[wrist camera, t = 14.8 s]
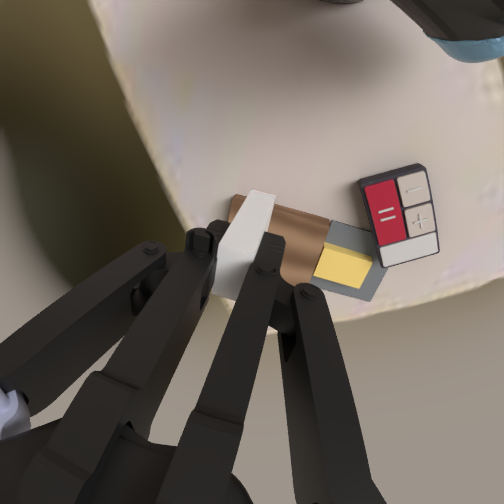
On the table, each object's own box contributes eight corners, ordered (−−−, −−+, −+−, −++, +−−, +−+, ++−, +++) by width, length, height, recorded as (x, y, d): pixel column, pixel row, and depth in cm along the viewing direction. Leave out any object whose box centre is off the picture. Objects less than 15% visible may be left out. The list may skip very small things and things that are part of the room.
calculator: (427, 167, 37) (441, 255, 42) (418, 161, 40) (434, 243, 46) (360, 185, 41) (381, 271, 46) (356, 178, 44) (378, 259, 50)
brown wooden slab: (236, 194, 50) (231, 200, 47) (329, 219, 49) (329, 227, 46) (224, 261, 57) (220, 270, 55) (305, 283, 56) (304, 293, 54)
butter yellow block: (324, 241, 51) (324, 247, 49) (371, 256, 50) (372, 262, 48) (313, 269, 54) (313, 275, 52) (358, 282, 53) (359, 288, 52)
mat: (332, 220, 48) (332, 220, 48) (400, 241, 48) (400, 242, 47) (308, 284, 56) (308, 285, 56) (370, 300, 55) (370, 301, 55)
